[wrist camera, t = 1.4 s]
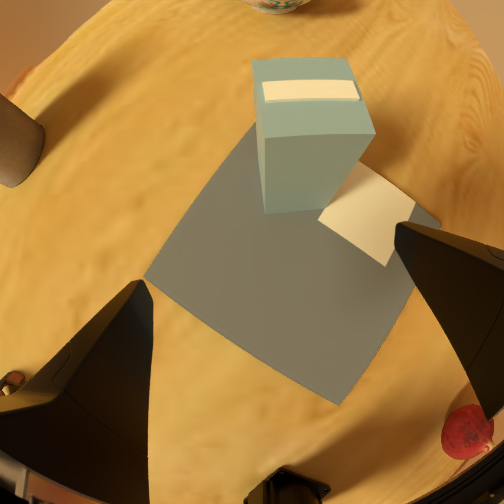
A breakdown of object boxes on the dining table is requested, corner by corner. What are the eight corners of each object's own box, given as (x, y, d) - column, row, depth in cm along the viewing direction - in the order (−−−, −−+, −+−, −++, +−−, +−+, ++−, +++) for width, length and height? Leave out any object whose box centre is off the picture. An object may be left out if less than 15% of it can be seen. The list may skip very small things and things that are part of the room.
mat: (438, 225, 22) (441, 223, 22) (337, 403, 21) (339, 406, 20) (266, 111, 25) (266, 108, 24) (145, 277, 23) (142, 276, 22)
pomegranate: (419, 430, 20) (459, 464, 12) (455, 387, 20) (503, 408, 12) (441, 449, 19) (478, 480, 11) (474, 409, 19) (516, 431, 11)
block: (314, 155, 23) (347, 56, 11) (324, 208, 23) (377, 131, 10) (258, 159, 23) (251, 57, 11) (265, 214, 23) (264, 136, 11)
